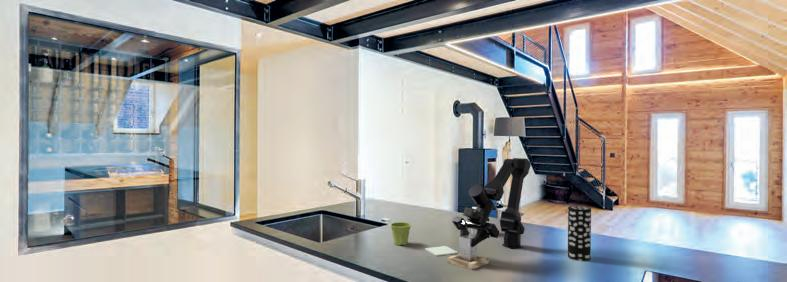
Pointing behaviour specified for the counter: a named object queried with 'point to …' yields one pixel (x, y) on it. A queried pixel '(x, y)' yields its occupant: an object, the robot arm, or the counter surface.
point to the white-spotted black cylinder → (579, 233)
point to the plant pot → (400, 232)
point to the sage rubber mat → (441, 250)
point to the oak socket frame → (468, 265)
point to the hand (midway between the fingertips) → (465, 245)
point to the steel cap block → (467, 249)
